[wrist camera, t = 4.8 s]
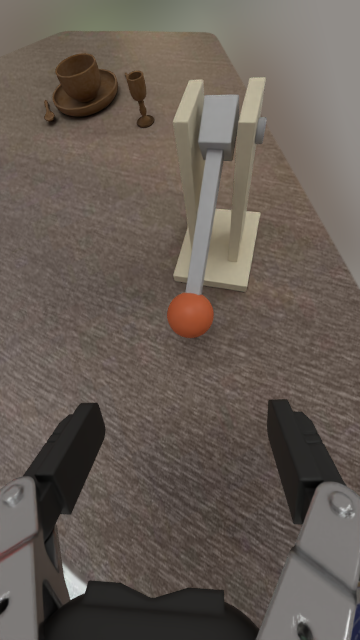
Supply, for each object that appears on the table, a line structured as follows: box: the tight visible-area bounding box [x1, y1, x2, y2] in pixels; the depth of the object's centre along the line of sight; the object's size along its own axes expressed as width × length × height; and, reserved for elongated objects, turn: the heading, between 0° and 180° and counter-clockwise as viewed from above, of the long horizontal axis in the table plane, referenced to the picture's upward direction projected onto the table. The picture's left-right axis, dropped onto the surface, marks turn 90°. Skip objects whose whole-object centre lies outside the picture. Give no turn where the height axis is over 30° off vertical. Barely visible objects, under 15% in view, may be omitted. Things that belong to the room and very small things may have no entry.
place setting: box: [44, 53, 154, 127], centre depth 40 cm, size 18×20×6 cm
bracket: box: [173, 78, 267, 292], centre depth 22 cm, size 10×8×15 cm
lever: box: [167, 95, 239, 338], centre depth 18 cm, size 16×4×4 cm, turn 165°
